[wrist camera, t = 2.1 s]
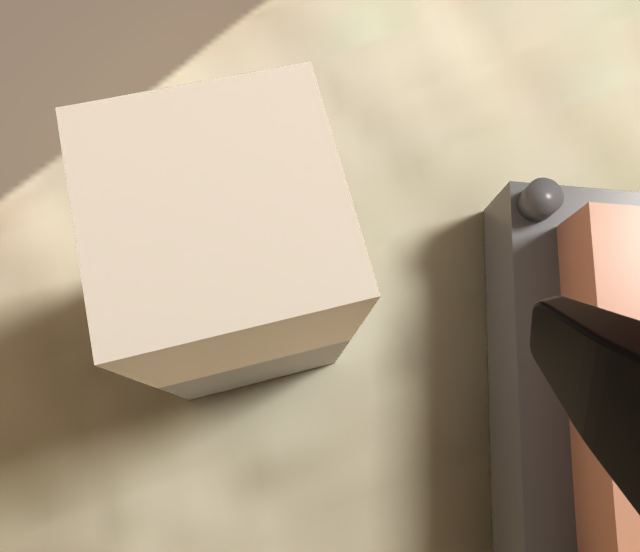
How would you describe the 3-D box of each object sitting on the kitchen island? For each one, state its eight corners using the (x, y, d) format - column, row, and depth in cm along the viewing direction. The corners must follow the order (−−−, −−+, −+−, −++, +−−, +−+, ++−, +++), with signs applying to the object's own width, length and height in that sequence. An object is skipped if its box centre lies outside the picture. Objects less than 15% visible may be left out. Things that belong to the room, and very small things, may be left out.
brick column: (334, 363, 19) (380, 296, 10) (189, 400, 18) (93, 365, 9) (298, 230, 20) (311, 60, 11) (162, 260, 20) (55, 108, 10)
